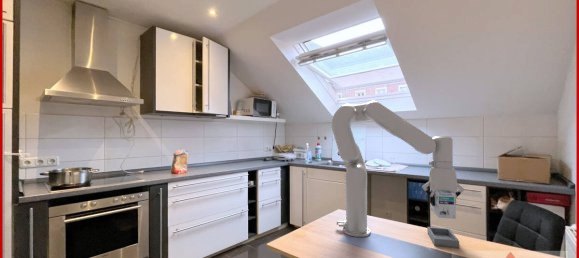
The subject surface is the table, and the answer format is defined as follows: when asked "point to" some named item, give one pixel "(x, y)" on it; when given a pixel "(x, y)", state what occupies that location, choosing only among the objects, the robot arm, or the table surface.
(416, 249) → the table surface
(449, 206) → the light bulb box
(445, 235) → the tray
